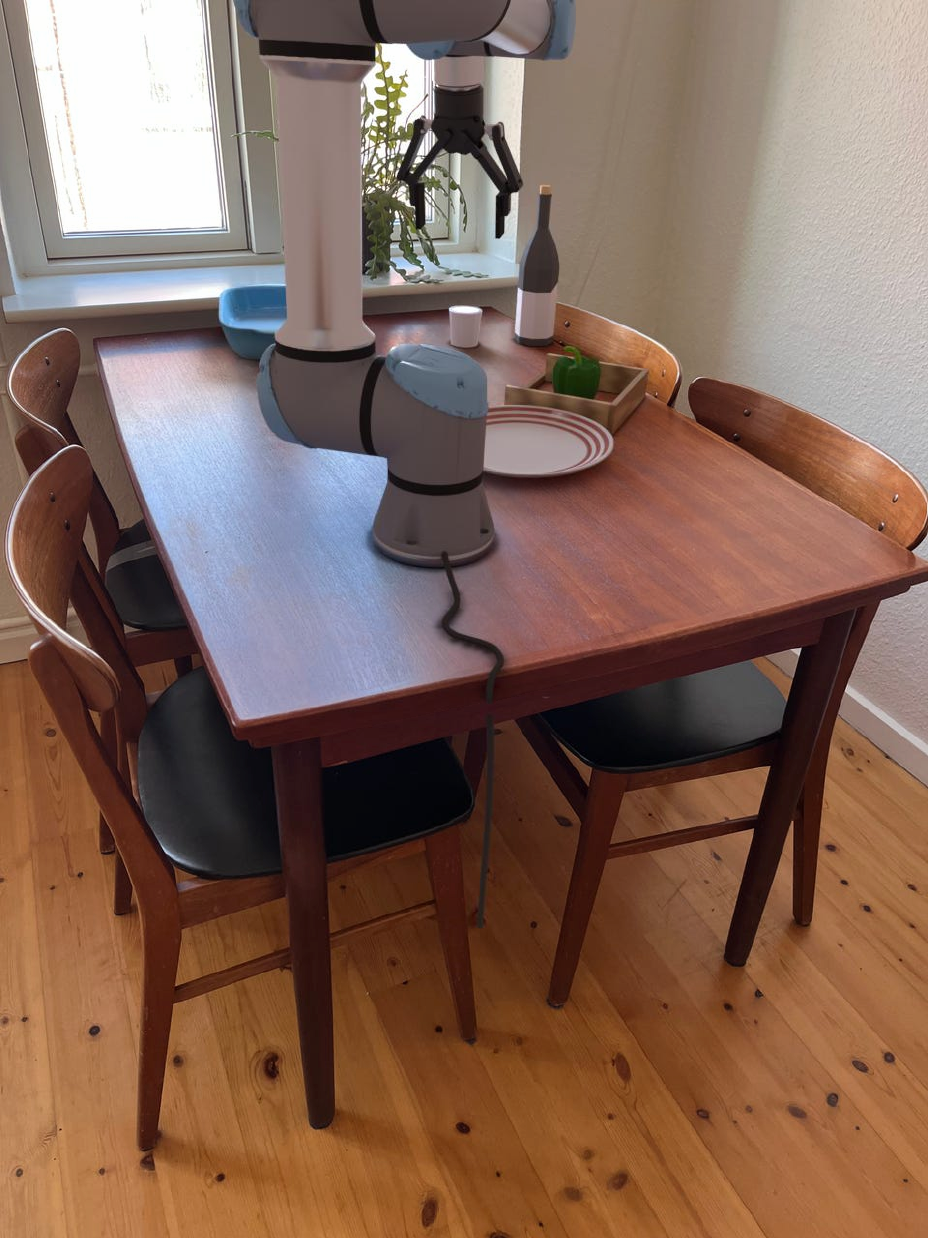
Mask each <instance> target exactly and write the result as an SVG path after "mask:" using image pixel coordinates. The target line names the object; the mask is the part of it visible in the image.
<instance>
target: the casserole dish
mask: <svg viewBox="0 0 928 1238" xmlns="http://www.w3.org/2000/svg"><path fill="white" fill-rule="evenodd" d="M218 320H219V323H220V326H221V327H222V330H223V333H224V336H225V338H226V341H227V342H228V344H229V346H230V348H231V349H232V350H233V352H235V353H236V354H237V355H239V356H240V357H242V359H247V360H261V357H262V355H263V353H264V352H265V350H266V349H267V348H268V347H269V346H270V345H272V344H275V332H276V331H277V330H278V329H279V328H280V327H281V326H282V325H283V324H284V323H285V322H286V320H287V303H286V283H285V284H284V283H260V284H259V283H258V284H250V285H241V286H233V287H228V288H226V289H224V290H222V291H221V293H220V294H219V299H218Z"/></svg>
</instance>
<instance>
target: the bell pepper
mask: <svg viewBox="0 0 928 1238" xmlns="http://www.w3.org/2000/svg"><path fill="white" fill-rule="evenodd" d="M563 349H564V352H565V353H569V352H570V353H572V354H574V356H573V357H574V358H572V359H571V358H569V357H570V356H569V357H566V356H567V355H563V356H560V357H559V359H558V360H557V361H556V363H555V365H554V367H553V371H552V382H551V383H552V389H553V393H558V394H563V395H569V396H575V397H580V398H586V399H592V400H595V397H596V395H597V392H598V390H597V389H598V387H599V383H600V376H601V369H600V363H599V361H600V360H599V358H598V359H597V358H591V359H590V358H588V357H586V356H585V355H583V354H581V352H580V350H579V349H578V348H576V347H575V346H570V345H567V346H564V348H563Z"/></svg>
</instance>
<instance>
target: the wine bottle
mask: <svg viewBox="0 0 928 1238" xmlns="http://www.w3.org/2000/svg"><path fill="white" fill-rule="evenodd" d="M551 192H552V186H551V185H549V184H540V186H539V192H538V194H537V197H538V200H537V211H536V213H537V214H536V227H535V229H534V230H533V232H532V234H531V236H530V237H529V239H528V240H527V243H525V247H524V249H523V251H522V254H521V258H520V261H519V269H518V279H517V280H518V281H517V295H516V309H515V310H516V311H515V326H514V341H515V342H517V343H518V345H523V346H529V347H546V346H549V345H551V344H552V343H553V340H554V331H555V321H556V311H557V299H558V290H559V289H558V286H559V278H560V277H559V276H560V260H559V254H558V250H557V246H556V243H555V240H554V238H553V236H552V233H551V230H550V218H551V204H552V197H553V194H552V193H551Z"/></svg>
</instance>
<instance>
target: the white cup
mask: <svg viewBox="0 0 928 1238" xmlns="http://www.w3.org/2000/svg"><path fill="white" fill-rule="evenodd" d="M448 315H449V335H450V345H452V346H453V347H457V348H462V349H463V348H466V349H468V348H475V347H477V346H478V345H479V339H480V331H481V326H482V317H483V309H482V308H480V307H477V306H475V305H474V306H473V305H454V306H453V305H452V306H450V307H449V308H448Z"/></svg>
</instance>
